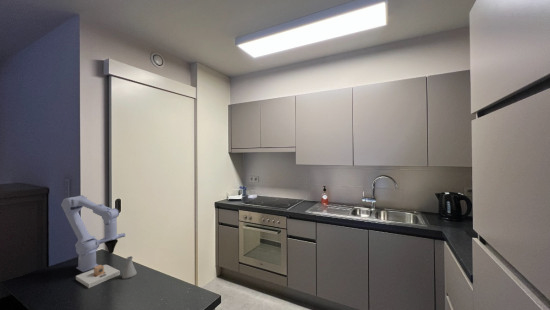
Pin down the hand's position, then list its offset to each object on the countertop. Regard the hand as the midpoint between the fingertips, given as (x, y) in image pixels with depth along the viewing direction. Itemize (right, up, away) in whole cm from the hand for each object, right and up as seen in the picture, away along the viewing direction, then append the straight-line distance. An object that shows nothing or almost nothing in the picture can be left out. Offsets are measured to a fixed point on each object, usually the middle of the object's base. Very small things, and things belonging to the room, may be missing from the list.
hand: (111, 252), depth 128 cm
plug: (0, -9, -9) cm, 13 cm away
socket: (0, -9, -9) cm, 13 cm away
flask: (+16, -9, -8) cm, 20 cm away
